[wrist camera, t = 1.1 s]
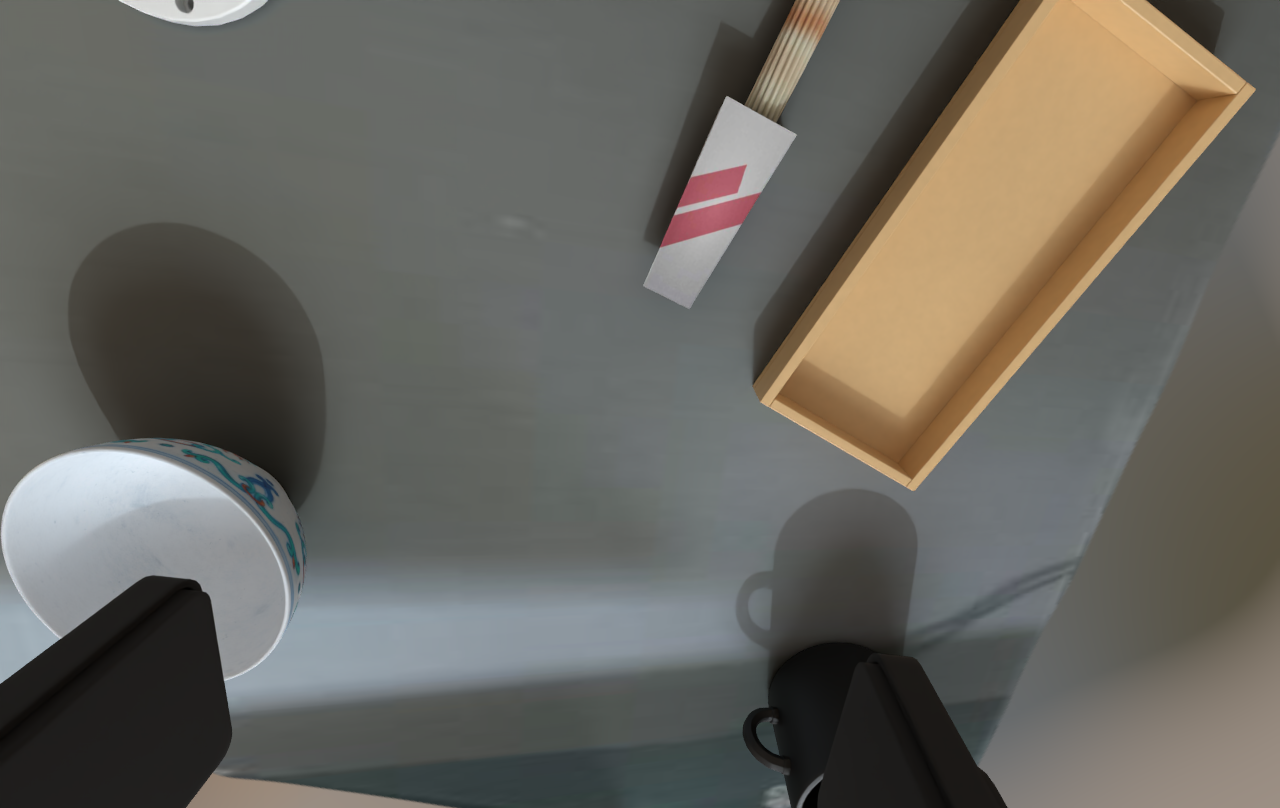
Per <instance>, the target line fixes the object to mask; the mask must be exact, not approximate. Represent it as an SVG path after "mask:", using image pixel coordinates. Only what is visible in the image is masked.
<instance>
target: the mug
mask: <svg viewBox="0 0 1280 808" xmlns="http://www.w3.org/2000/svg"><path fill="white" fill-rule="evenodd" d="M873 653H875V652H873V651H871V650H869V649H867V648H864V647H861V646H858V645H853V644H845V643H830V644H824V645H819V646H815V647H812V648H809V649H807V650H804V651H802V652H800V653H798V654H797V655H795V656H793V657H792V658H791V659H789V660H788V661H787V662H786V663H785V664H784V665H783V666H782V667H781V668H780V669H779V670H778V672H777V673H776V675H775V677H774V679H773V681H772V683H771V686H770V690H769V696H768V704H769V708H759V709H756V710H754V711H752V712H751V713H750V714H749V715H748V717H747V718H746V720H745V722H744V724H743V738H744V741H745V743H746V746H747V748H748V749H749V751H750V752H751V753H752V755H753V756H754V757H755V758H756V759H757V760H758V761H759V762H761V763H762V764H764V765H765V766H766V767H768V768H770V769H773V770H775V771H778V772H781V773H782V774H783V775H784V777H785V781H786V786H787V790H788V795H789V799H790V804H791V808H818V805H817V802H818V793H819V789H820V786H821V782H822V779H823V776H824V772H825V769H826V765H827V762H828V758H829V755H830V752H831V748H832V745H833V741H834V738H835V735H836V731H837V728H838V724H839V721H840V718H841V714H842V711H843V707H844V704H845V700H846V697H847V694H848V690H849V687H850V683H851V680H852V677H853V673H854V670H855V667H856V665H857V664H858V663H860V662H863V663H866V662H867V660H868V658H869V656H870V655H871V654H873ZM768 721H770V723H771V724H773V727H774V732H775V736H776V741H777V745H778V750H779V754H780V756H779V755H776V754H774V753H772V752H770V751H769V750H767V749H766V748H765V747H764V746H763V745H762V744H761V743H760V741H759V739H758V737H757V734H756V727H757V725H758V724H759V723H761V722H768Z"/></svg>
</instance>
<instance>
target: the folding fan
mask: <svg viewBox="0 0 1280 808" xmlns="http://www.w3.org/2000/svg"><path fill="white" fill-rule="evenodd" d="M839 1H840V0H796V1H795V3H794V5H793V7H792V9H791V11H790V13H789V15H788V17H787V19H786V21H785V23H784V25H783V27H782V29H781V32H780V34H779V36H778V38H777V40H776V42H775V44H774V46H773V48H772V50H771V52H770V54H769V56H768V58H767V60H766V62H765V64H764V66H763V68H762V71H761V73H760V75H759V77H758V79H757V81H756V83H755V85H754V87H753V89H752V91H751V93H750V95H749V97H748V99H747V101H746V103H745V105H742V104H741V103H739V102H737V101H735V100H733V99H732V98H730V97H728V96H726V98H725V100H724V103H723V105H722V107H720V109H719V111H718V114H717V116H716V118H715V121H714V123H713V125H712V127H711V130H710V132H709V134H708V137H707V139H706V141H705V144H704V146H703V148H702V151H701V153H700V155H699V158H698V160H697V162H696V165H695V167H694V169H693V172H692V174H691V176H690V179H689V181H688V183H687V185H686V188H685V190H684V192H683V195H682V197H681V199H680V202H679V204H678V206H677V209H676V211H675V213H674V216H673V218H672V220H671V223H670V225H669V227H668V230H667V232H666V234H665V236H664V239H663V241H662V243H661V246H660V248H659V250H658V253H657V255H656V257H655V260H654V262H653V264H652V267H651V269H650V271H649V274H648V276H647V278H646V281H645V283H644V285H643V286H644V287H646V288H648V289H650V290H652V291H654V292H656V293H658V294H660V295H662V296H664V297H666V298H668V299H670V300H672V301H674V302H676V303H678V304H680V305H682V306H684V307H686V308H688V309H689V308H690V307H691V305H692V303H693V302H694V300H695V299H696V297H697V295H698V294H699V292H700V291H701V289H702V287H703V286H704V284H705V282H706V281H707V279H708V278H709V276H710V274H711V273H712V271H713V269H714V268H715V266H716V265H717V263H718V261H719V260H720V258H721V257H722V255H723V253H724V252H725V250H726V248H727V247H728V245H729V244H730V242H731V240H732V239H733V237H734V236H735V234H736V232H737V231H738V229H739V227H740V226H741V224H742V223H743V221H744V219H745V218H746V216H747V214H748V213H749V211H750V210H751V208H752V206H753V205H754V203H755V202H756V200H757V198H758V197H759V195H760V193H761V192H762V190H763V189H764V187H765V185H766V184H767V182H768V181H769V179H770V177H771V176H772V174H773V172H774V171H775V169H776V168H777V166H778V164H779V163H780V161H781V159H782V158H783V156H784V155H785V153H786V151H787V150H788V148H789V147H790V145H791V143H792V142H793V140H794V138H795V137H796V134H795V133H793V132H791V131H789V130H787V129H786V128H784V127H782V126H780V125H778V124H777V123H776V122H777V120H778V119H779V117H780V115H781V113H782V111H783V109H784V107H785V105H786V103H787V101H788V100H789V98H790V96H791V94H792V92H793V90H794V88H795V86H796V84H797V82H798V80H799V78H800V77H801V75H802V73H803V71H804V69H805V67H806V65H807V63H808V61H809V59H810V57H811V55H812V53H813V52H814V50H815V48H816V46H817V44H818V42H819V40H820V38H821V36H822V34H823V32H824V30H825V28H826V26H827V24H828V22H829V20H830V18H831V17H832V15H833V13H834V11H835V9H836V7H837V5H838V3H839Z"/></svg>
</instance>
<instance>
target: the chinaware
mask: <svg viewBox="0 0 1280 808" xmlns="http://www.w3.org/2000/svg"><path fill="white" fill-rule="evenodd" d="M1 542H2V549H3V554H4V558H5V562H6V565H7V568H8V571H9V573H10V576H11V578H12V580H13V582H14V584H15V586H16V588H17V590H18V591H19V593H20V595H21V596H22V598H23V599H24V601H25V602H26V603H27V605H28V606H29V607H30V609H31V610H32V611H33V612H34V614H35V615H36V616H37V617H38V618H39V619H40V620H41V621H42V623H43V624H44V625H45V626H46V627H47V628H49V629H50V630H51V631H52V632H53V633H54V634H55V635H56V636H57V637H59V638H60V639H61V638H63V637H64V636H65V635H67V634H68V633H69V632H71V631H72V630H73V629H75V628H76V627H77V626H79V625H80V624H81V623H83V622H84V621H85V620H87V619H88V618H89V617H91V616H92V615H93V614H95V613H96V612H97V611H99V610H100V609H101V608H103V607H104V606H105V605H107V604H108V603H109V602H111V601H112V600H113V599H115V598H116V597H117V596H119V595H120V594H121V593H123V592H124V591H125V590H127V589H128V588H129V587H131V586H132V585H133V584H135V583H136V582H137V581H139V580H141V579H142V578H144V577H146V576H151V575H156V576H166V577H175V578H184V579H192V580H196V581H197V582H198V583H199V584H200V585H201V588H202V591H203V592H206V593H207V594H208V595H209V596H210V599H211V603H212V609H213V616H214V622H215V628H216V634H217V640H218V646H219V653H220V659H221V665H222V671H223V677H224V681H225V680H229V679H232V678H234V677H237V676H239V675H241V674H243V673H245V672H247V671H249V670H251V669H252V668H254V667H255V666H257V665H258V664H259V663H261V662H262V661H263V660H264V659H265V658H266V657H267V656H268V655H269V654H270V653H271V652H272V651H273V650H274V648H275V647H276V646H277V644H278V643H279V641H280V640H281V638H282V636H283V634H284V633H285V631H286V629H287V627H288V625H289V623H290V621H291V619H292V617H293V614H294V612H295V609H296V607H297V604H298V601H299V598H300V595H301V592H302V588H303V583H304V578H305V572H306V543H305V537H304V532H303V529H302V525H301V522H300V519H299V517H298V514H297V512H296V510H295V508H294V506H293V505H292V503H291V501H290V500H289V498H288V496H287V494H286V492H285V491H284V489H283V488H282V486H281V485H280V484H279V483H278V481H277V480H276V479H275V478H274V477H272V476H271V475H270V474H269V473H268V472H266V471H265V470H263V469H261V468H260V467H258V466H256V465H254V464H252V463H251V462H249V461H247V460H246V459H244V458H242V457H240V456H238V455H236V454H234V453H231V452H229V451H226V450H224V449H221V448H218V447H215V446H212V445H208V444H204V443H200V442H195V441H189V440H182V439H170V438H140V439H128V440H120V441H113V442H107V443H102V444H96V445H92V446H87V447H83V448H79V449H75V450H72V451H69V452H65V453H63V454H60V455H57V456H55V457H52V458H50V459H48V460H46V461H44V462H43V463H41V464H39V465H38V466H36V467H35V468H33V469H32V470H31V471H30V472H28V473H27V474H26V475H25V476H24V477H23V478H22V479H21V480H20V481H19V483H18V484H17V485H16V487H15V488H14V489H13V491H12V493H11V494H10V496H9V498H8V501H7V503H6V506H5V509H4V513H3V517H2V524H1Z"/></svg>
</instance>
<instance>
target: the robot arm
mask: <svg viewBox="0 0 1280 808" xmlns="http://www.w3.org/2000/svg"><path fill="white" fill-rule="evenodd" d="M119 1H121V2H123V3H125V4H127V5H129V6H131V7H133V8H135V9H137V10H139V11H141V12H143V13H145V14H148V15H151V16H154V17H157V18H160V19H163V20H166V21H169V22H173V23H179V24H185V25H191V26H211V25H221V24H225V23H228V22H232V21H235V20H238V19H242V18H243V17H245V16H247V15H248V14H250V13H252V12H254V11H255V10H257V9H259V8H260V7H262V6H263V5H264V4H265V3H266V2H267V1H268V0H119ZM231 738H232V727H231V720H230V714H229V708H228V702H227V696H226V690H225V683H224V677H223V671H222V665H221V659H220V653H219V646H218V640H217V634H216V628H215V622H214V616H213V609H212V603H211V599H210V596H209V595H208V594H207V593H206V592H203V591H202V588H201V585H200V584H199V583H198V582H197V581H196V580H192V579H184V578H175V577H166V576H156V575H151V576H146V577H144V578H142V579H141V580H139V581H137V582H136V583H135V584H133V585H132V586H131V587H129V588H128V589H127V590H125V591H124V592H123V593H121V594H120V595H119V596H117V597H116V598H115V599H113V600H112V601H111V602H109V603H108V604H107V605H105V606H104V607H103V608H101V609H100V610H99V611H97V612H96V613H95V614H93V615H92V616H91V617H89V618H88V619H87V620H85V621H84V622H83V623H81V624H80V625H79V626H77V627H76V628H75V629H73V630H72V631H71V632H69V633H68V634H67V635H65V636H64V637H63V638H61V639H60V640H59V641H57V642H56V643H54V644H53V645H52V646H50V647H49V648H48V649H46V650H45V651H44V652H42V653H41V654H40V655H38V656H37V657H36V658H34V659H33V660H32V661H30V662H29V663H28V664H26V665H25V666H24V667H22V668H21V669H20V670H18V671H17V672H16V673H14V674H13V675H12V676H10V677H9V678H8V679H6V680H5V681H4V682H2V683H1V684H0V808H186V807H187V806H188V804H189V803H190V802H191V800H192V799H193V798H194V796H195V795H196V794H197V792H198V791H199V790H200V788H201V787H202V786H203V784H204V783H205V782H206V781H207V779H208V778H209V777H210V775H211V774H212V773H213V772H214V770H215V769H216V768H217V766H218V765H219V764H220V762H221V761H222V759H223V758H224V756H225V755H226V753H227V750H228V748H229V745H230V742H231ZM817 805H818V808H1007V806H1006V804H1005V803H1004V801H1003V799H1002V797H1001V795H1000V794H999V792H998V790H997V788H996V787H995V785H994V784H993V782H992V781H991V779H990V778H989V777H988V775H987V774H986V773H985V772H984V771H983V770H981V769H980V768H979V767H977V765H976V763H975V761H974V760H973V758H972V756H971V754H970V752H969V751H968V749H967V747H966V745H965V743H964V742H963V740H962V738H961V736H960V735H959V733H958V731H957V729H956V727H955V726H954V724H953V722H952V720H951V718H950V717H949V715H948V713H947V711H946V709H945V708H944V706H943V704H942V702H941V700H940V699H939V697H938V695H937V693H936V691H935V690H934V688H933V686H932V684H931V683H930V681H929V679H928V677H927V675H926V674H925V672H924V670H923V668H922V666H921V665H920V663H919V662H918V661H917V660H916V659H915V658H913V657H907V656H898V655H888V654H879V653H873V654H871V655H870V656H869V658H868V660H867V662H866V663H863V662H860V663H858V664H857V665H856V667H855V670H854V673H853V677H852V680H851V683H850V687H849V690H848V694H847V697H846V700H845V704H844V707H843V711H842V714H841V718H840V721H839V724H838V728H837V731H836V735H835V738H834V741H833V745H832V748H831V752H830V755H829V758H828V762H827V765H826V769H825V772H824V776H823V779H822V782H821V786H820V789H819V793H818V802H817Z"/></svg>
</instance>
